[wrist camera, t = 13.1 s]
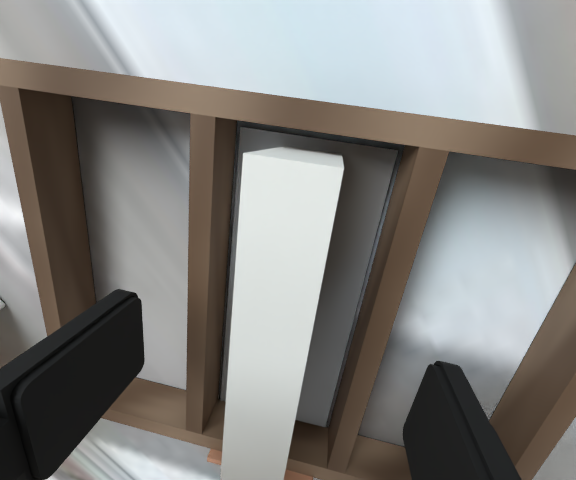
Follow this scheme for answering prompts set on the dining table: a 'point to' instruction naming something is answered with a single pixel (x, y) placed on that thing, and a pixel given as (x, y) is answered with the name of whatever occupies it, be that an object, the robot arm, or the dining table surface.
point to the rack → (338, 269)
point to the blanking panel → (275, 301)
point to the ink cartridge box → (2, 304)
